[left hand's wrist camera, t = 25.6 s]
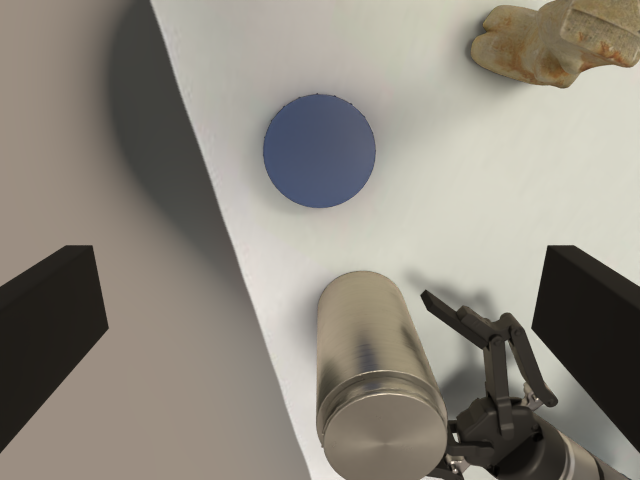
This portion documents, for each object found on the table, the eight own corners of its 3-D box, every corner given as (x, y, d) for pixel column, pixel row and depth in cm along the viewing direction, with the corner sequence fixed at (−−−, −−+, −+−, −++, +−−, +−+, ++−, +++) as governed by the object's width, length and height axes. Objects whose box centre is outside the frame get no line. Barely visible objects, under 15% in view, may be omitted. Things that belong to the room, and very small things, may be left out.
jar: (408, 272, 43) (464, 388, 27) (400, 348, 47) (445, 496, 30) (318, 269, 43) (317, 385, 27) (316, 346, 46) (314, 493, 30)
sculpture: (494, -7, 35) (613, -69, 21) (565, 36, 36) (726, 4, 22) (456, 63, 36) (541, 49, 22) (525, 101, 38) (649, 111, 23)
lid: (261, 196, 41) (259, 201, 39) (269, 87, 37) (267, 87, 36) (364, 208, 41) (366, 214, 39) (381, 101, 38) (384, 102, 36)
